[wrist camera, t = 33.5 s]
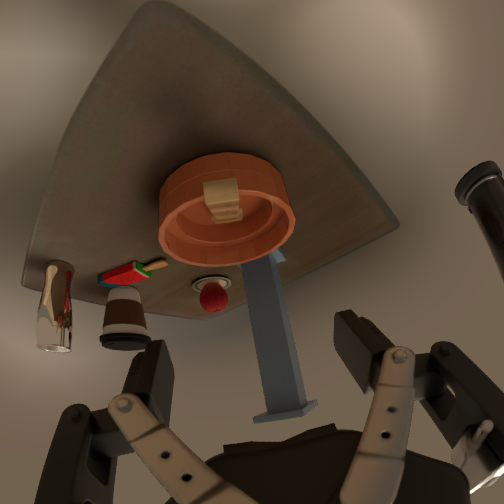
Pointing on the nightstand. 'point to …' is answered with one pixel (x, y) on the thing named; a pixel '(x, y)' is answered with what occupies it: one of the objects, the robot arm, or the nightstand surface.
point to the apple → (212, 292)
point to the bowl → (230, 233)
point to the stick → (223, 200)
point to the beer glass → (55, 309)
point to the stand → (274, 340)
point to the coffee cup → (124, 321)
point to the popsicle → (129, 274)
